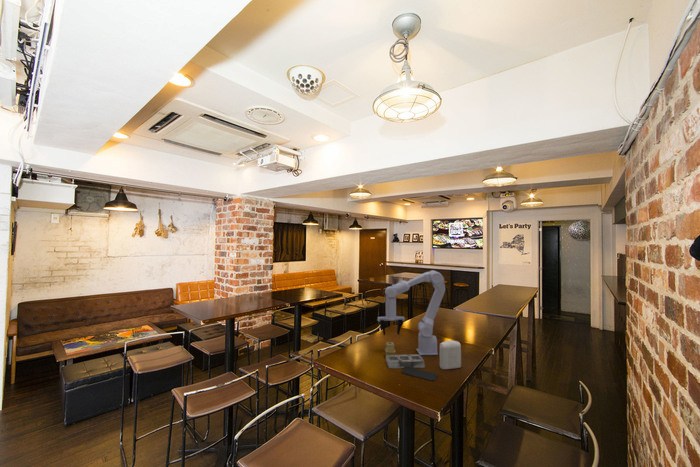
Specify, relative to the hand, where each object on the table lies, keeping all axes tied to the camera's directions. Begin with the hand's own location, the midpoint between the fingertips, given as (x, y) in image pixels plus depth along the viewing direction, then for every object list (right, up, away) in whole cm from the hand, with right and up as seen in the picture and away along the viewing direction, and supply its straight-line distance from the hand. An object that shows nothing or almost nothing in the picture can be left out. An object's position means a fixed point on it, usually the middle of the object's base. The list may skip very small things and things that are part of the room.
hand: (391, 334), depth 152 cm
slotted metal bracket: (+4, -9, -16) cm, 19 cm away
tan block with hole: (-2, -9, -8) cm, 12 cm away
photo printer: (+25, -9, -20) cm, 33 cm away
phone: (+9, -9, -26) cm, 29 cm away
